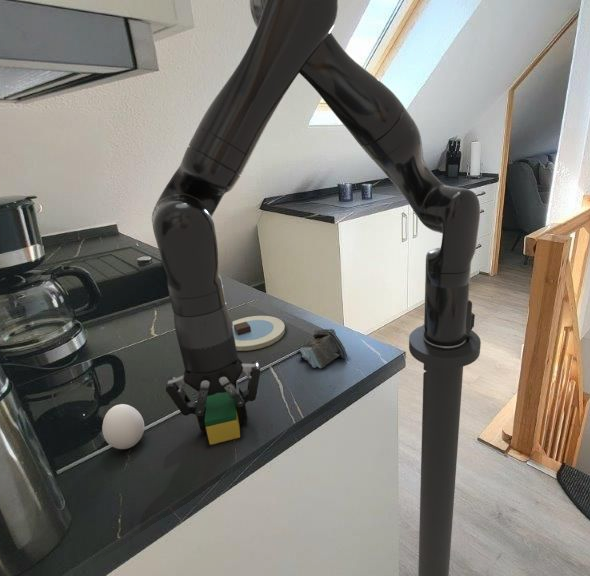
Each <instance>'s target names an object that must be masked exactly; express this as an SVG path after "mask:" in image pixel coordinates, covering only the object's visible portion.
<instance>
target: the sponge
mask: <svg viewBox="0 0 590 576" xmlns="http://www.w3.org/2000/svg"><path fill="white" fill-rule="evenodd" d="M205 407H206V408H205V426H206V431H207V433H206V435H207V439H208V444H209V445H210V446H212V445H216V444H219V443H223V442H227V441H232V440H236V439H239V438H241V427H240V426H241V425H239V421H238V416H237V411H236V403H235V402H234V400H233V399H232V398H231V397H230V396H229V394H228V393H227V392H225V393H216V394H214V395H211V396H207V400H206V405H205Z"/></svg>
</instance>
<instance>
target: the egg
mask: <svg viewBox="0 0 590 576" xmlns="http://www.w3.org/2000/svg"><path fill="white" fill-rule="evenodd" d="M101 430H102V435H103V438H104V440H105V442H106V443H107V444H108V445H109V446H111V447H112V448H114V449H116V450H117V449H118V450H127V449H130V448H132V447H134V446H136V445H137V444H138V443H139V442H140V440H141V439H142V438H143V435H144V432H145V422H144V418H143V416H142V414H141V413H140V411H138V410H137V408H135V407H133V406H131V405H129V404H125V403H120V404H116V405H114V406H112V407H111V408H109V409H108V410H107V412H106V413H105V415H104V418H103V422H102V425H101Z"/></svg>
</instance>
